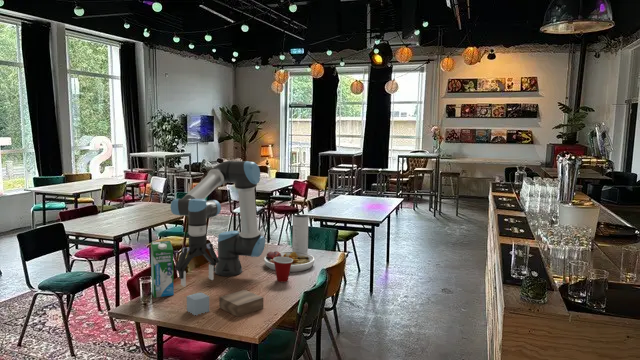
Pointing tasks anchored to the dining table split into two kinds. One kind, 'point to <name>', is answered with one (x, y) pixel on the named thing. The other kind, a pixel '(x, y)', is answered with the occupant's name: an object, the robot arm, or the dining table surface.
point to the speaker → (300, 233)
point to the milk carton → (162, 269)
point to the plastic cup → (282, 268)
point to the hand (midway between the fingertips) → (197, 282)
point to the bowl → (299, 259)
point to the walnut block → (241, 303)
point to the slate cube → (198, 303)
